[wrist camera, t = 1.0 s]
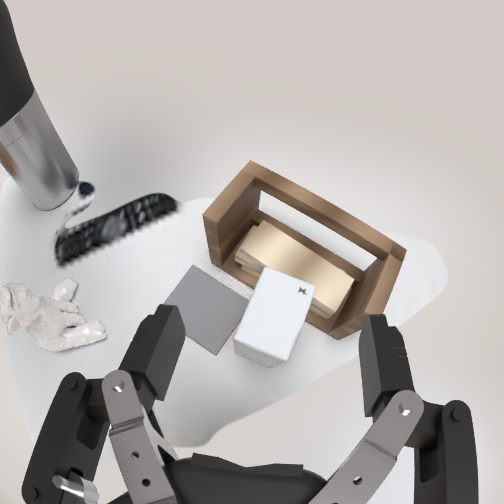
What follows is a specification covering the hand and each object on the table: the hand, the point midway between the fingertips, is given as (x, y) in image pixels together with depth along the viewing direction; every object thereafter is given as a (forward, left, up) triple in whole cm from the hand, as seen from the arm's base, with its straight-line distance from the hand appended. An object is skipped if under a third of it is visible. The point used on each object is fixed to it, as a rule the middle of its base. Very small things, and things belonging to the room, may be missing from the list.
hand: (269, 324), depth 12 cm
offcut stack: (-1, +10, -18) cm, 21 cm away
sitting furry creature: (-20, -10, -20) cm, 30 cm away
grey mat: (-7, +2, -19) cm, 21 cm away
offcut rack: (-1, +10, -19) cm, 22 cm away
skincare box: (0, +3, -20) cm, 20 cm away
